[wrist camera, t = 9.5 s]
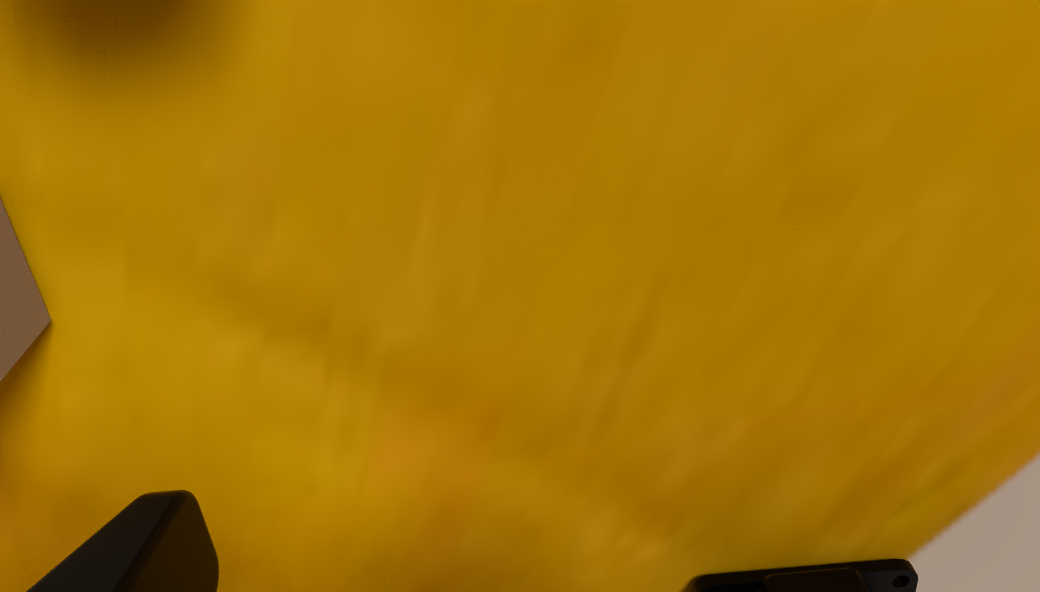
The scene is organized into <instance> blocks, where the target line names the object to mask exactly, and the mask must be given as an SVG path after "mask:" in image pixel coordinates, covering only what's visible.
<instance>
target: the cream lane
mask: <svg viewBox="0 0 1040 592" xmlns="http://www.w3.org/2000/svg"><path fill="white" fill-rule="evenodd" d="M50 321H51V319H50V317H49V314H48V312H47V309H46V307H45V305H44V302H43V300H42V297H41V295H40V293H39V290H38V288H37V285H36V283H35V281H34V278H33V276H32V273H31V271H30V268H29V266H28V264H27V261H26V259H25V256H24V254H23V252H22V249H21V247H20V244H19V242H18V240H17V237H16V235H15V232H14V230H13V228H12V225H11V223H10V220H9V218H8V216H7V213H6V211H5V208H4V206H3V204H2V201H1V199H0V381H1V380H2V379H3V378H4V377H5V375H6V374H7V373H8V372H9V370H10V369H11V368H12V367H13V366H14V364H15V363H16V362H17V361H18V360H19V358H20V357H21V356H22V355H23V354H24V352H25V351H26V350H27V349H28V348H29V346H30V345H31V344H32V343H33V341H34V340H35V339H36V338H37V337H38V335H39V334H40V333H41V332H42V331H43V329H44V328H45V327H46V326H47V325H48V323H49V322H50Z"/></svg>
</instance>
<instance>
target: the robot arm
mask: <svg viewBox="0 0 1040 592" xmlns="http://www.w3.org/2000/svg"><path fill="white" fill-rule="evenodd" d="M218 578H219V566H218V558H217V554H216V551H215V548H214V545H213V543H212V540H211V537H210V534H209V531H208V529H207V526H206V523H205V520H204V517H203V515H202V512H201V509H200V506H199V504H198V501H197V500H196V498H195V496H194V495H193V494H192V493H191V492H189V491H186V490H174V491H163V492H151V493H147V494H143V495H141V496H139V497H138V498H137V499H135V500H134V501H133V502H132V503H130V504H129V505H128V506H127V507H126V508H125V509H123V510H122V511H121V512H120V513H119V514H117V515H116V516H115V517H114V518H113V519H112V520H110V521H109V522H108V523H107V524H106V525H104V526H103V527H102V528H101V529H100V530H99V531H97V532H96V533H95V534H94V535H93V536H91V537H90V538H89V539H88V540H87V541H86V542H84V543H83V544H82V545H81V546H80V547H78V548H77V549H76V550H75V551H74V552H73V553H71V554H70V555H69V556H68V557H67V558H65V559H64V560H63V561H62V562H61V563H60V564H58V565H57V566H56V567H55V568H54V569H52V570H51V571H50V572H49V573H48V574H47V575H45V576H44V577H43V578H42V579H41V580H39V581H38V582H37V583H36V584H35V585H34V586H32V587H31V588H30V589H29V590H28V591H26V592H217V586H218ZM917 582H918V575H917V573H916V572H915V570H914V568H913V566H912V565H911V563H910V562H909V561H907V560H904V559H891V560H879V561H867V562H856V563H844V564H832V565H821V566H809V567H797V568H785V569H774V570H762V571H750V572H738V573H727V574H715V575H708V576H704V577H702V578H700V579H698V580H697V581H696V582H695V583H694V587H693V592H713V591H714V592H915V591H916V587H917Z"/></svg>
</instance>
